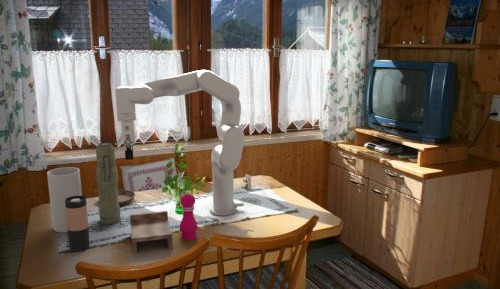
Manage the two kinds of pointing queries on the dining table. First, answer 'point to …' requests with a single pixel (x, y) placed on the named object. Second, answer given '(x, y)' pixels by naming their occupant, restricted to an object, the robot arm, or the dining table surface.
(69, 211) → the travel mug
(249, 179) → the architectural model
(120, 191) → the plant saucer
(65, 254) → the dining table surface
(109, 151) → the stone totem statue
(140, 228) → the walnut shelf
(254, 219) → the dining table surface
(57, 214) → the cylinder vase
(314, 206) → the dining table surface
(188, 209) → the pepper mill
